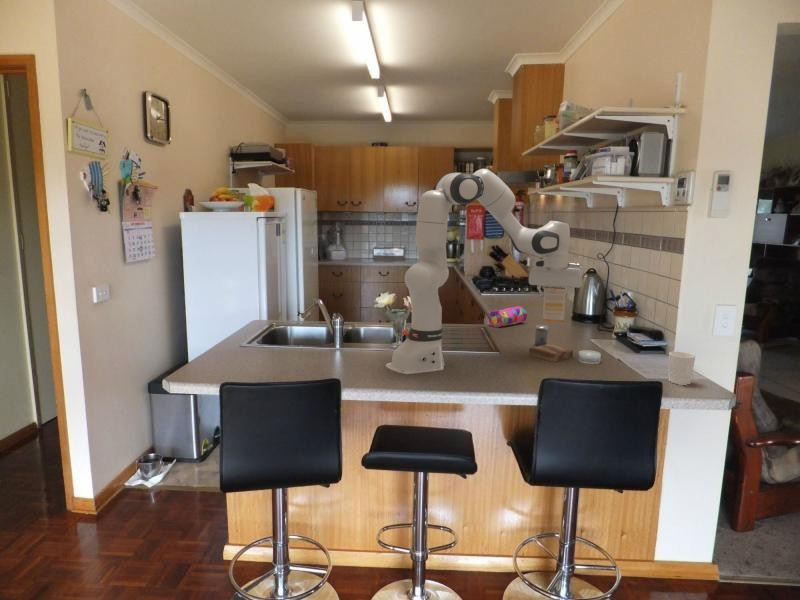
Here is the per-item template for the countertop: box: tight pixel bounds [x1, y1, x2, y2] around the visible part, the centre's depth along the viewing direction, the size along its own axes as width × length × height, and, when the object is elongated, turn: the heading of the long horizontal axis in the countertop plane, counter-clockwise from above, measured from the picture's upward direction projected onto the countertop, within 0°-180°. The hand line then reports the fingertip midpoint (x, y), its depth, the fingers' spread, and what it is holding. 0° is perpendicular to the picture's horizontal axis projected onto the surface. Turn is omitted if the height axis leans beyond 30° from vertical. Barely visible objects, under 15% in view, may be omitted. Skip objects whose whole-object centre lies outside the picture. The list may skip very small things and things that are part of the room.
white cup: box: [667, 350, 696, 385], centre depth 179 cm, size 8×8×10 cm
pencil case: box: [488, 305, 528, 328], centre depth 268 cm, size 22×9×9 cm, turn 130°
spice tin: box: [534, 324, 549, 347], centre depth 225 cm, size 5×5×9 cm
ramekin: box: [578, 349, 602, 365], centre depth 204 cm, size 8×8×4 cm
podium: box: [528, 343, 574, 363], centre depth 210 cm, size 12×12×3 cm
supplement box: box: [542, 286, 567, 323], centre depth 206 cm, size 8×5×13 cm, turn 74°
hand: (554, 297), depth 206 cm, fingers closed on supplement box, 8 cm apart
